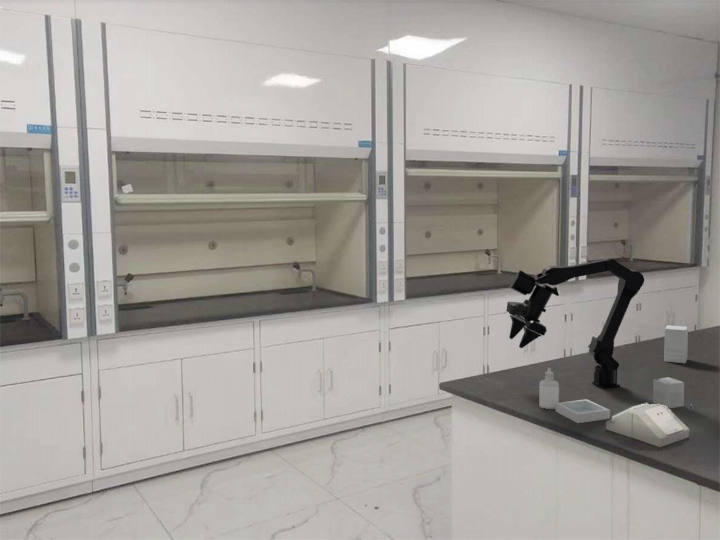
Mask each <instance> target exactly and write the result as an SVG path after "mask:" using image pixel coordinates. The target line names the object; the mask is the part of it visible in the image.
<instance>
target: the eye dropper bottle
mask: <svg viewBox="0 0 720 540" xmlns="http://www.w3.org/2000/svg"><path fill="white" fill-rule="evenodd" d="M559 383H560V382H558V381H557V380H555V379H554V372H553V371H552V369H551V367H547V371H545V372H544V379H542V380H541V381H539V383H538V384H539V387H538V390H539V391H538V394H539V396H538V398H539V399H538V404H539V405H538V406H539V408H540V409H544V408H545V410H556V403H560V384H559Z"/></svg>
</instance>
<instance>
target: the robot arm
mask: <svg viewBox="0 0 720 540" xmlns="http://www.w3.org/2000/svg"><path fill="white" fill-rule="evenodd" d="M606 272H609V273H610V274H612V275H614V276H615V277H617V278H618V282H617V293H616V297H615V299H614V301H613V303H612V305H611V309H610V310H609V313H608V316H607V318H606V320H605V322H604V325H603V328H602V330H601V332H600V334H599V335H597V337H596V336H594V335H593V336H592V337H591V341H590V343H589V344H588V346H587V347H588V355H589V356H590V357H591V359H592V360H594V362H595V364H597V365H595V366H594V367H595V368H594V371H593V381H591V384H592V385H596V386H598V387H600V388H603V389H607V388H609V389H610V388H616V387H621V384H620V383H618V369H619V367H620V363H619V362H618V361H617V360H616V359H615V358H614V357H613V355H614V351H615V338H616V336H617V333H618V331H619V330H620V327H621V324H622V322H623V320H624V317H625V315H626V312H627V310H628V308H629V306H630V303H631V301H632V299H633V298H634V297H635V296H637V294H638V293H639V291H640V290H641V288H642V286H643V285H644V282H645V278H644V274H642V272H639V271H638V270H635V269H630V268H628V267H626V266H624V265H622V264H621V263H620V262H618V261H617V260H616V259H613V258H611V257H605V258H603V259H598V260H592V261H587V262H582V263H577V264H573V265H548V266H546V267H544V268H543V269H542V271H541V272H540V273H539V272H538V273H537V274H534V275H533V276H532V275H530V274H528V273H526V272H524V271H523V270H521V269H519V270H518V271H517V273H516V274H515V276H514V277H512V279H511V280H510V284H509V288H510V289H511V290H513V291H516V292H517V293H520V294H521V295H523V296H527V295H530V296H529V298H528V299H524V300H523V302H518V301H507V302H506V303H507V304H506V310H505V311H506V312H508V314H509V317H510V319H511V320H510V321H511V327H510V331H509V332H510V333H509V336H508V337H509V339H510V340H513V339H514V338H515V337H517V335H518V334H519V333H520V332H521V331H522V330H523V335H522V338H521V339H520V343H519V345H518V347H519V348H520V349H523V348H525V347H527V345H529V344H530V343H532V342H533V341H534V340H536V339H538V338H539V337H540V338H541V337H542V336H545V335H546V333H547V328H546V327H547V326H545V325H544V324H542V323H541V320H540V318H541V315H542V313H546V311H547V309H546V306H547V304H548V302H549V301H550V298H551V297H552V295H555V296H556V297H559V296H560V293H559V292H558V287H557V285H560V284H563V283H566V282H567V281H569V280H571V279H574V278H579V277H585V276H589V275H594V274H598V273H599V274H600V273H606ZM540 284H541V285H540ZM551 286H554V287H551Z"/></svg>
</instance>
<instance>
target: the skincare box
mask: <svg viewBox="0 0 720 540" xmlns="http://www.w3.org/2000/svg"><path fill="white" fill-rule="evenodd" d="M652 385H653V386H652V387H653V391H652V392H653V393H652V394H653V397H652V401H653V402H652V403H653V404H655V403H660V404H664V405H666V406H668V407H669V408H668V409H674V408H683V407H684V406H685V382H683V381H681V380H678V379H675V378H672V377H661V378H654V379H653V383H652Z"/></svg>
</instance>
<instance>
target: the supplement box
mask: <svg viewBox="0 0 720 540" xmlns="http://www.w3.org/2000/svg"><path fill="white" fill-rule="evenodd" d="M688 336H689V327H688V326H683V325H669V324H667V325H666V326H665V327H664V349H663V351H664V352H663V353H664V354H663V355H664V359H663V361H664V362H667V363H678V364H679V363H680V364H686V363H687V361H688V345H689V344H688V340H689V337H688Z"/></svg>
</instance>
